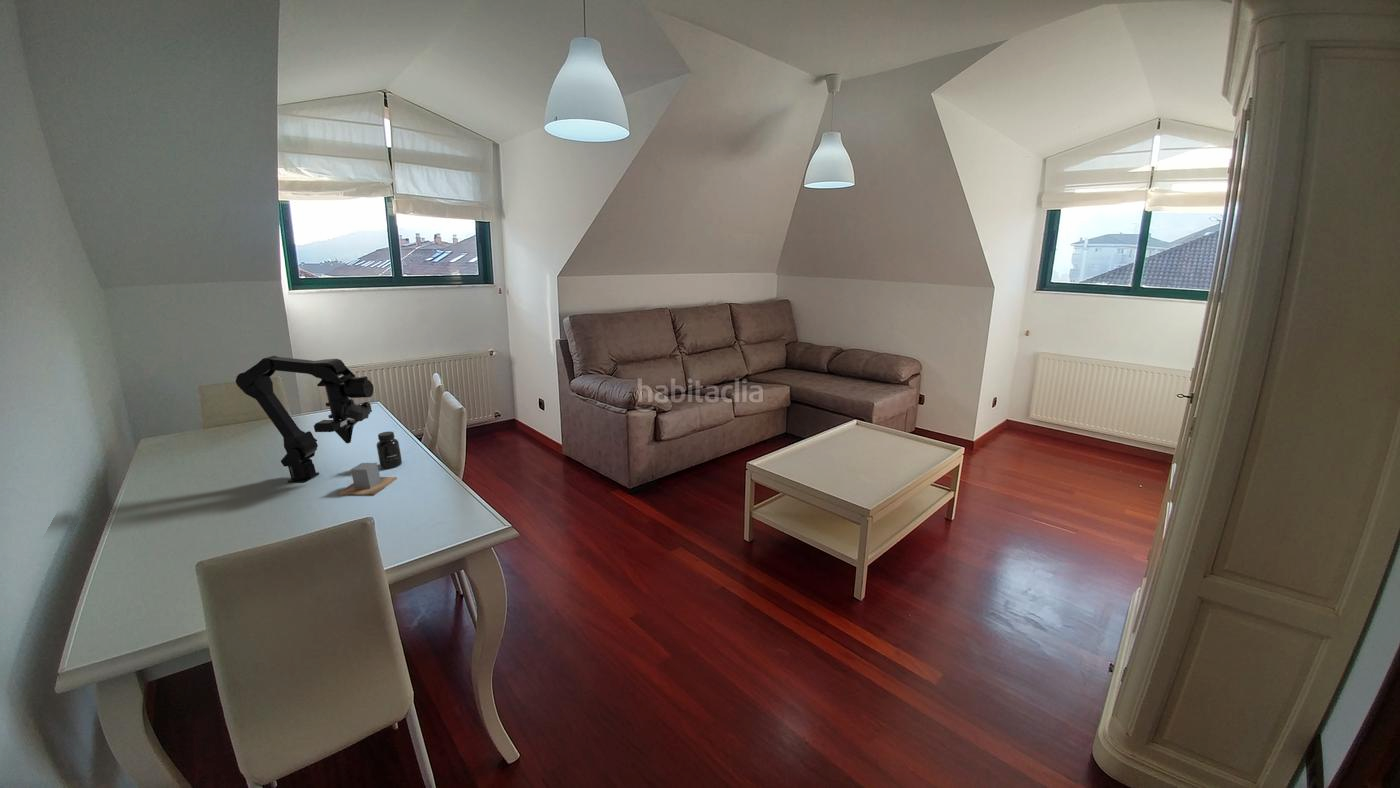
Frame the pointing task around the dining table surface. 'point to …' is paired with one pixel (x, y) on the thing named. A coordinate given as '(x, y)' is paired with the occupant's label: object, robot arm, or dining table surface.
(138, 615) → the dining table surface
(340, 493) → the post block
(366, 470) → the grey rectangular block
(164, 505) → the dining table surface
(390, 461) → the supplement bottle
